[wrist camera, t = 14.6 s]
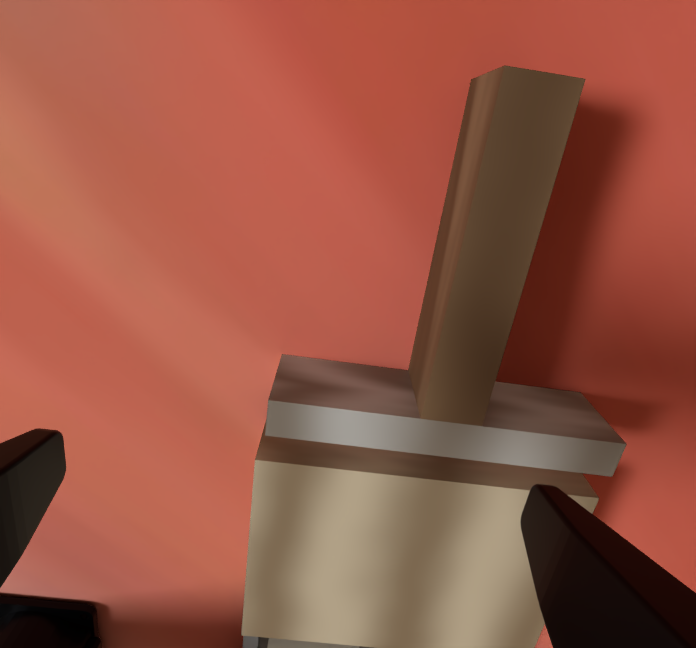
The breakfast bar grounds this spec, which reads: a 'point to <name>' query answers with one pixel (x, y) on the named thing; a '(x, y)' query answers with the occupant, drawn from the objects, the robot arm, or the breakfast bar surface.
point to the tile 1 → (302, 644)
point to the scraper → (467, 311)
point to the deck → (392, 547)
